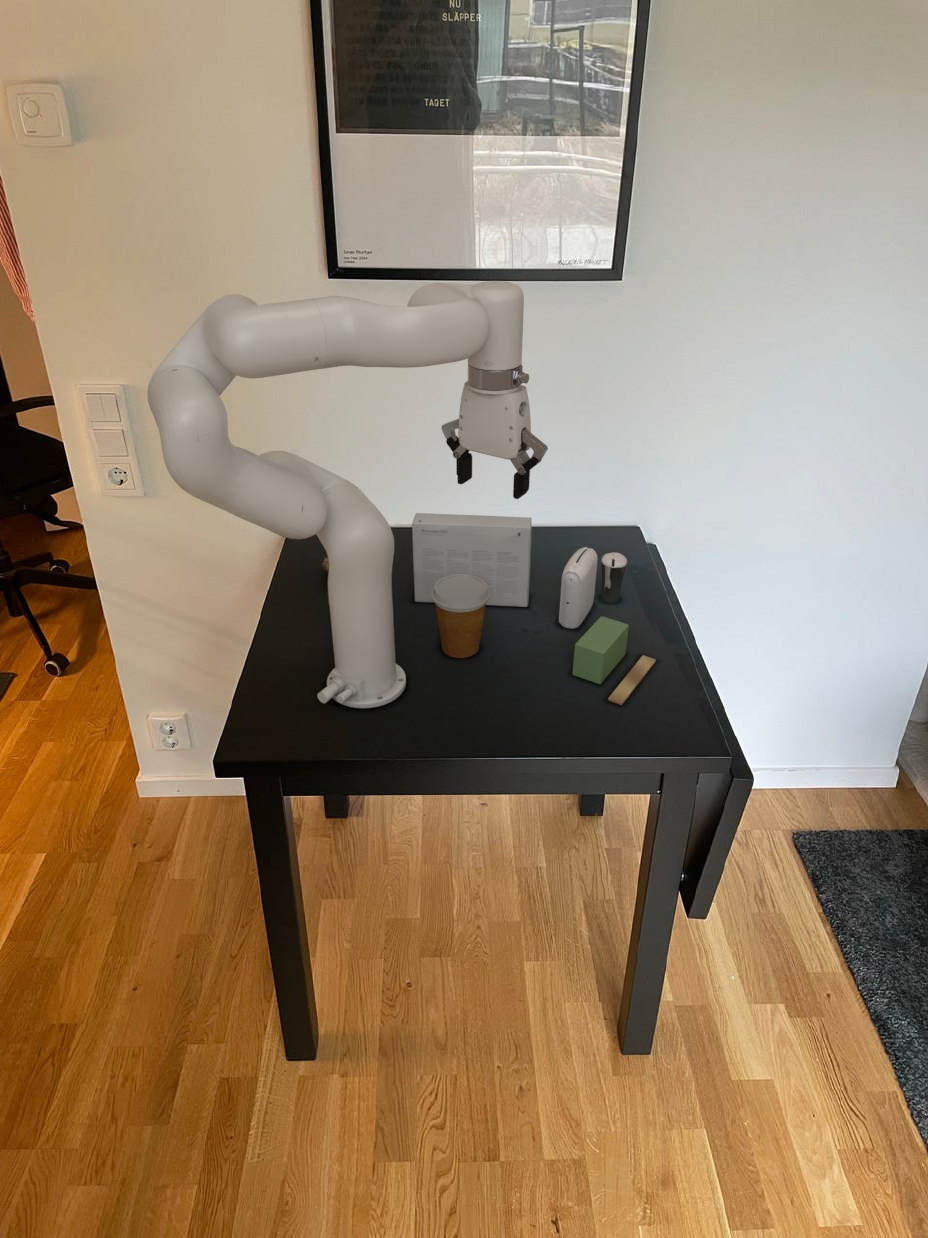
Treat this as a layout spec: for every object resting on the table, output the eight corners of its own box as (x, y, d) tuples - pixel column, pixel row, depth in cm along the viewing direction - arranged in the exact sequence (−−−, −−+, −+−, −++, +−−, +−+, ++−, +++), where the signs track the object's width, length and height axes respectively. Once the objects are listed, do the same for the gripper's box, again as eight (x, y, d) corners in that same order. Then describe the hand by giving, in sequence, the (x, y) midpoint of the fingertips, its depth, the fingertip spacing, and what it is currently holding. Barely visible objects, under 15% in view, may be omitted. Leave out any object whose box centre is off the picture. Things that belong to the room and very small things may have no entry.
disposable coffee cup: (476, 627, 159) (476, 568, 152) (497, 656, 151) (498, 595, 145) (424, 638, 156) (423, 578, 149) (443, 668, 148) (442, 606, 142)
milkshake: (595, 605, 165) (600, 557, 160) (599, 591, 169) (603, 543, 164) (620, 608, 164) (626, 560, 159) (623, 594, 168) (629, 546, 163)
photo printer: (578, 631, 158) (583, 570, 151) (555, 626, 159) (559, 564, 152) (596, 603, 166) (602, 543, 159) (573, 598, 167) (578, 539, 160)
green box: (572, 674, 147) (574, 644, 144) (598, 645, 154) (601, 615, 151) (600, 684, 145) (603, 653, 141) (625, 654, 152) (629, 624, 149)
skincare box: (529, 593, 169) (532, 516, 160) (528, 608, 164) (531, 530, 156) (417, 587, 170) (415, 510, 162) (413, 602, 166) (410, 524, 157)
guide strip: (621, 705, 140) (622, 703, 140) (607, 700, 141) (607, 698, 141) (656, 661, 150) (656, 659, 150) (642, 656, 151) (642, 655, 151)
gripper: (561, 379, 125) (554, 492, 134) (456, 359, 133) (457, 467, 142) (536, 394, 120) (530, 511, 129) (428, 372, 128) (430, 484, 137)
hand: (492, 488), depth 136 cm, fingers open, 9 cm apart
